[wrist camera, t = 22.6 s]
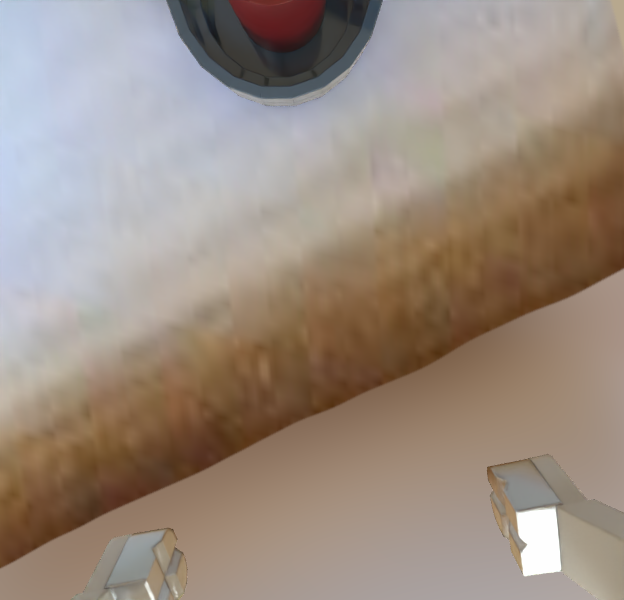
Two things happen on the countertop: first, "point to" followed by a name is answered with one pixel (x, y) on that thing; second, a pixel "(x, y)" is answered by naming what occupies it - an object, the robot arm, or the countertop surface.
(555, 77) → the countertop surface
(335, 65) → the bowl
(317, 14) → the can
